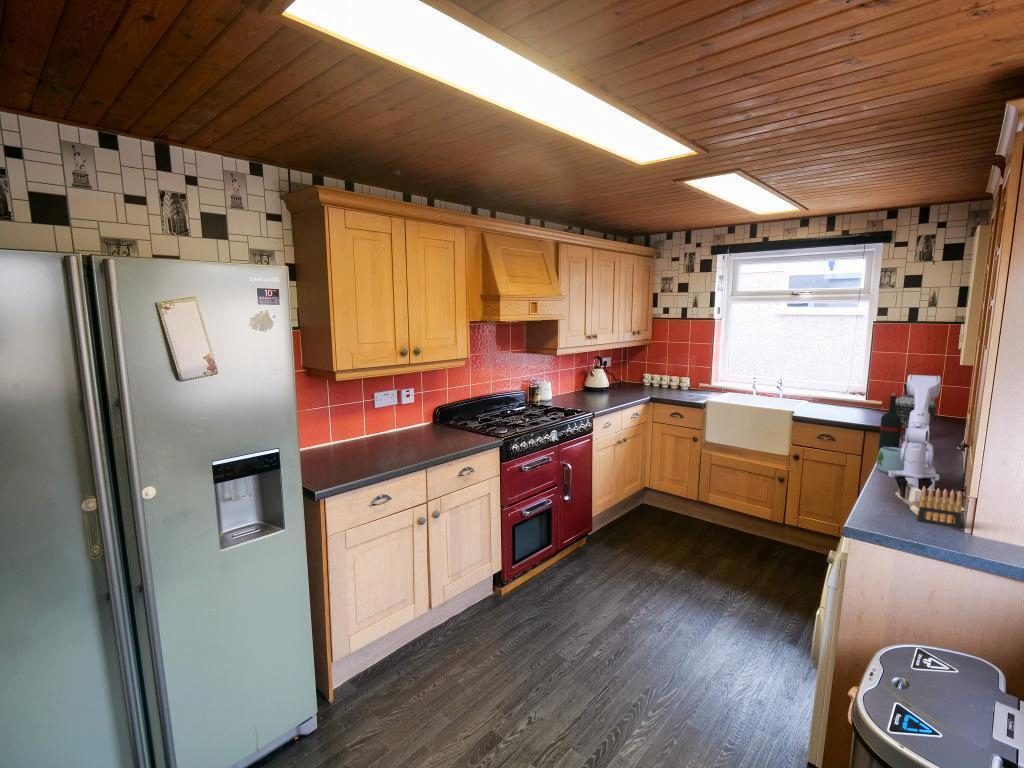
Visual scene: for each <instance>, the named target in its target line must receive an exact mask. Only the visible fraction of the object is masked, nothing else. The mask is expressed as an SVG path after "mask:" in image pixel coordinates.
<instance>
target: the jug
mask: <svg viewBox="0 0 1024 768" xmlns="http://www.w3.org/2000/svg"><path fill="white" fill-rule="evenodd" d="M903 387H904V393H903V394H902V396H900V397H898V398H897V397H896V404H895V413H896V414H897V415H898V416H899V417H900V418H901V425H903V427H904V431H903V432H902V434H901V433H900V439H902V436H903V440H905V435H906V429H907V430H908V424H909V416H910V412H911V411H913V410H914V409H915V399H914V397H913V396H910V395H908V393H907V382H903ZM939 395H940V394H939ZM939 395H938V397H939ZM938 397H934V398H932V399H931V400H930V402H929V408H928V413H929V414H930V420H929V426H930V424H931V423H932V421H933V419H934V417H935V414H936V412H937V399H938Z"/></svg>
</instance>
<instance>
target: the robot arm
mask: <svg viewBox="0 0 1024 768" xmlns="http://www.w3.org/2000/svg"><path fill="white" fill-rule="evenodd" d="M941 381H942V377H941V376H940V375H922V374H921V375H920V374H909V375H907V382H906V383H907V393H908V395H910V396H913V397H914V399H915V409H914V410H913V411H911V412H910V416H909V424H908V430H907V429H906V435H905V439H904V441H903V444H902V443H901V447H900V448H901V457H900V460H901V461H902V462H904V470H897V471H891V470H889V473H887V474H888V476H889V477H890V478H894V479H895V481H896V484H897V486H898V489H899V490H900V496H901V497H902V498H905V495H906V486H907V483H908V482H910V483H911V484H913V485H914V486H915V487H917V488H918V489H920V490H921V491H922V488H923V486H925V488H926V491H927V492H929V489H930V487H932V488H933V492H936V489H935V487H936V481H940V475H939V474H938V473H937V471H936V468H935V467H934V466H933V460H934V446H933V444H932V443H930V442H929V441H930V435H931V434H930V433H931V432H930V425H929V420H930V414H929V413H928V408H929V402H930V401H932V400H933V398H934V397H939V396H938V395H940V392H941V384H942V383H941Z"/></svg>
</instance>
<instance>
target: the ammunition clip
mask: <svg viewBox="0 0 1024 768" xmlns="http://www.w3.org/2000/svg"><path fill="white" fill-rule="evenodd" d="M962 494H963V493H962V491H961V490H958V492H957V495H956V499H955V491H954V489H951V491H950V494H949V497H948V489H947V488H944V489H943V492H942V500H941V505H940V497H941V489H940V488H939V487H938V488H937V489H935V494H934V491H933V488H932V487H930V489H929V491H928V494H927V490H926V488H925V486H923V488H922V492H921V497H920V502H919V510H918V515H917V517H916V522H919V523H923V524H930V525H935V524H936V526H942V525H943V526H942V527H948V526H951V527H950V528H954V527H960V528H961V521H962V512H961V508H962V507H963V503H962V498H963V497H962ZM934 495H935V496H934ZM926 496H928V498H927V503H926ZM933 497H935V499H934V505H933ZM947 498H949V501H948V507H947ZM954 502H955V503H954ZM954 505H955V509H954ZM925 511H926V512H925ZM932 512H933V514H932Z"/></svg>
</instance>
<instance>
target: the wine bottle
mask: <svg viewBox="0 0 1024 768" xmlns="http://www.w3.org/2000/svg"><path fill="white" fill-rule="evenodd" d="M896 399H897V395H896V392H891V393H890V397H889V407H888V412H886V413H884V414H883V415H882V416H880V417H881V418H880V427H879V428H880V429H879V437H878V449H877V455H878V454H879V450H880V448H882V447H896V448H900V440H901V445H902V444H903V442H904V438H903V436H902V438H901V437H900V433H901V434H902V432H903V431H904V427H903V425H901V418H900V417H899V416H898V415H897V414H896V413H895V404H896Z"/></svg>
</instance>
